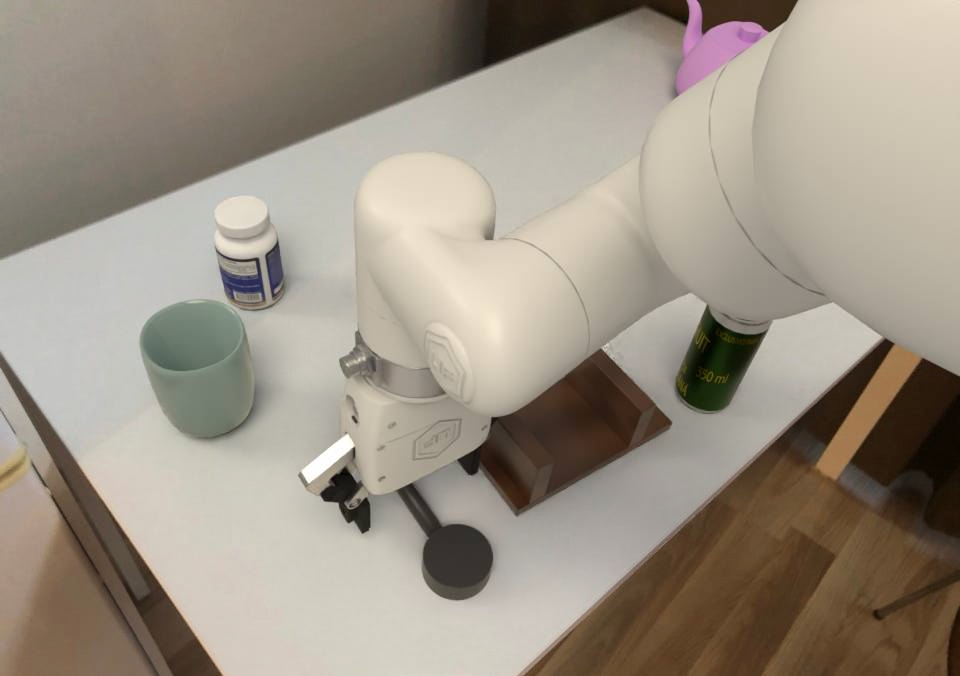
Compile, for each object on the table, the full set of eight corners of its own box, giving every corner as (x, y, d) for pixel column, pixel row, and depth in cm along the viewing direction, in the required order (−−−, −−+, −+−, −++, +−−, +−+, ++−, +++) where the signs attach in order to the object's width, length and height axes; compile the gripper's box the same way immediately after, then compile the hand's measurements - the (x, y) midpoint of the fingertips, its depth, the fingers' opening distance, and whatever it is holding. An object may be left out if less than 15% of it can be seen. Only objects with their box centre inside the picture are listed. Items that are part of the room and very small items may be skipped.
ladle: (376, 399, 70) (376, 385, 69) (503, 578, 60) (506, 565, 59) (322, 424, 68) (321, 410, 66) (445, 613, 58) (447, 601, 56)
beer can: (726, 374, 76) (771, 283, 67) (734, 419, 72) (782, 329, 64) (670, 367, 76) (708, 275, 67) (675, 412, 72) (716, 321, 63)
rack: (670, 428, 71) (689, 386, 67) (516, 516, 64) (526, 475, 59) (605, 362, 76) (619, 318, 71) (455, 437, 68) (460, 393, 64)
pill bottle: (263, 263, 81) (251, 183, 73) (297, 294, 78) (288, 214, 71) (213, 288, 78) (195, 207, 70) (246, 321, 75) (231, 240, 68)
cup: (155, 394, 68) (128, 314, 61) (245, 367, 71) (229, 287, 64) (177, 464, 64) (150, 386, 57) (272, 433, 67) (258, 354, 60)
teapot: (804, 125, 108) (841, 43, 99) (743, 155, 102) (776, 70, 93) (693, 60, 118) (718, -20, 109) (631, 83, 112) (652, 1, 103)
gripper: (319, 443, 44) (334, 582, 56) (564, 330, 51) (528, 475, 64) (263, 354, 48) (288, 502, 60) (497, 261, 55) (476, 410, 68)
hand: (411, 488), depth 62 cm, fingers open, 9 cm apart
